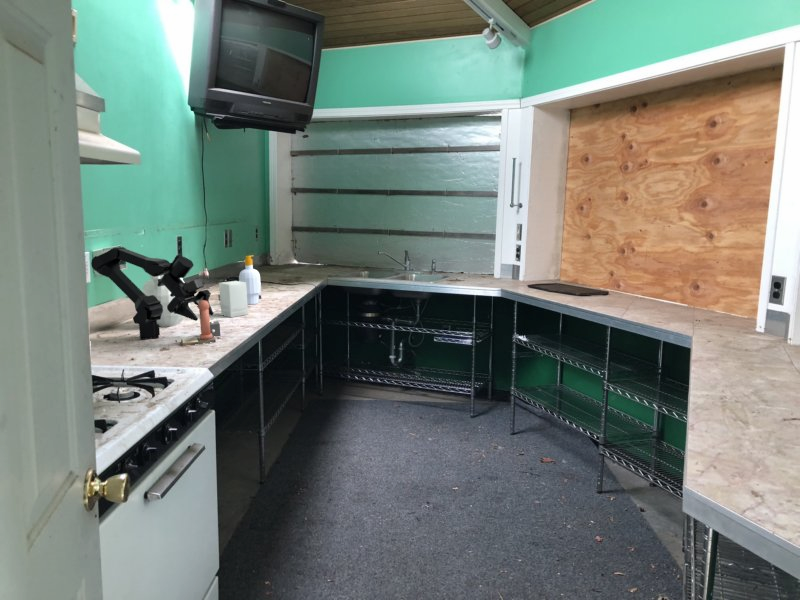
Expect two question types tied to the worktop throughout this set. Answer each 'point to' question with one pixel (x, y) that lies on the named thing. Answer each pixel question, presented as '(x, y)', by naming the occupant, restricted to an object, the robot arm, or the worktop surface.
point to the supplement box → (233, 298)
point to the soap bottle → (251, 281)
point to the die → (215, 328)
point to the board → (196, 341)
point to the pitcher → (162, 301)
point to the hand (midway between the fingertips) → (205, 317)
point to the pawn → (204, 320)
